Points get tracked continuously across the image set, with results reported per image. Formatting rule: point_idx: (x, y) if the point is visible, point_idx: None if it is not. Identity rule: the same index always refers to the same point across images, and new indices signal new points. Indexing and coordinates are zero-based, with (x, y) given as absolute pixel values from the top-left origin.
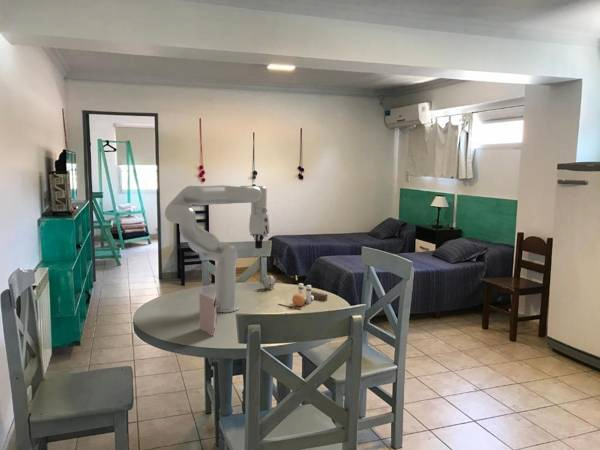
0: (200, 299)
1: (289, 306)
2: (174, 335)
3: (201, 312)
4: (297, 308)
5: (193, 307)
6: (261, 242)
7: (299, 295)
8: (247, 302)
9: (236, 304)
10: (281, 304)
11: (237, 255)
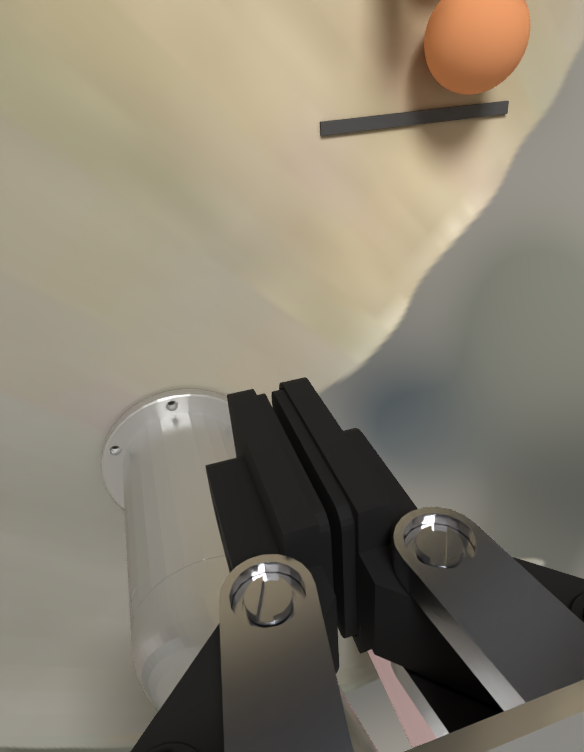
0: (407, 717)
1: (416, 113)
2: (340, 670)
3: (388, 664)
4: (482, 105)
5: (42, 570)
6: (402, 503)
7: (520, 49)
8: (131, 280)
9: (185, 397)
10: (344, 122)
11: (357, 737)
